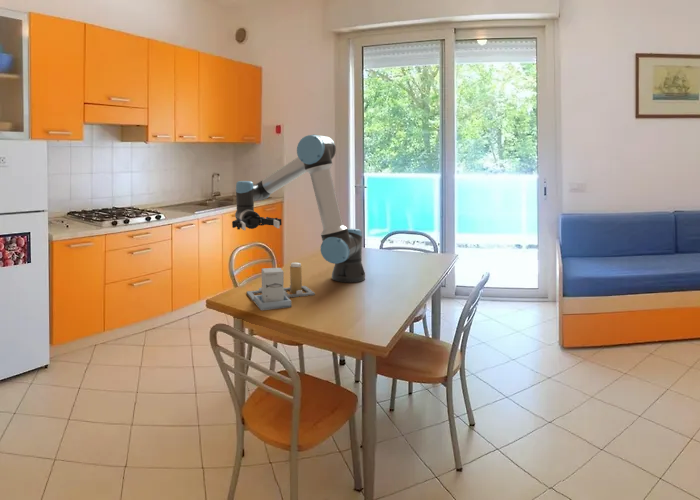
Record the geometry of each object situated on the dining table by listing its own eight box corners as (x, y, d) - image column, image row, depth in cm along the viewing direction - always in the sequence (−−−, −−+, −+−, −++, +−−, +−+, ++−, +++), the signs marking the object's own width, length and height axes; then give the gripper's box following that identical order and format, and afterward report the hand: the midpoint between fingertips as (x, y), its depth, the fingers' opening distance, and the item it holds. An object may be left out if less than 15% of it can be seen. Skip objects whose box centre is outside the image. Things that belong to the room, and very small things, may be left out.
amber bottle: (299, 290, 213) (299, 261, 211) (303, 293, 209) (302, 264, 207) (289, 291, 212) (288, 262, 209) (292, 294, 207) (291, 265, 205)
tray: (283, 298, 202) (283, 292, 201) (291, 307, 191) (291, 300, 191) (254, 301, 197) (254, 295, 197) (261, 310, 187) (260, 303, 186)
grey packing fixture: (305, 287, 218) (305, 283, 218) (314, 295, 207) (314, 290, 207) (246, 293, 209) (246, 288, 208) (253, 301, 198) (252, 296, 197)
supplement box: (264, 305, 190) (263, 272, 187) (261, 300, 197) (261, 268, 194) (284, 304, 192) (283, 271, 189) (281, 298, 199) (280, 266, 196)
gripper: (278, 226, 227) (292, 233, 208) (221, 229, 218) (230, 237, 199) (278, 209, 226) (292, 214, 207) (220, 211, 216) (229, 217, 197)
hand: (261, 225), depth 203 cm, fingers open, 13 cm apart
